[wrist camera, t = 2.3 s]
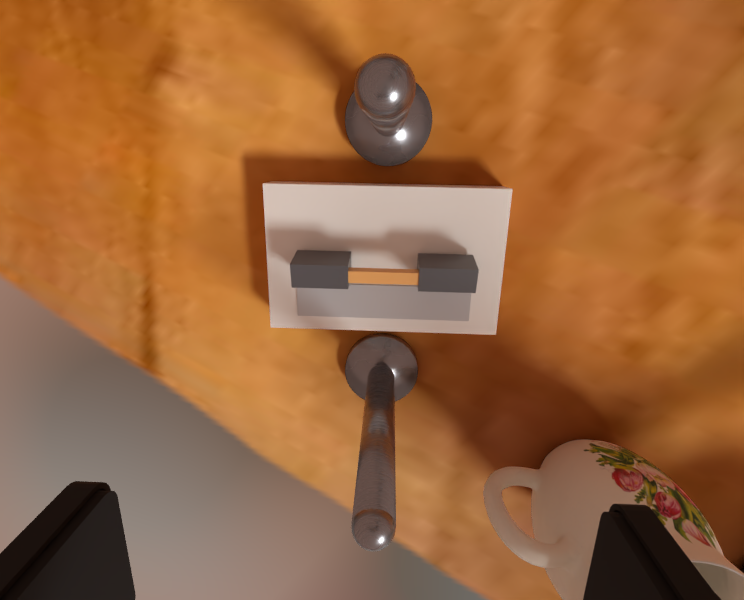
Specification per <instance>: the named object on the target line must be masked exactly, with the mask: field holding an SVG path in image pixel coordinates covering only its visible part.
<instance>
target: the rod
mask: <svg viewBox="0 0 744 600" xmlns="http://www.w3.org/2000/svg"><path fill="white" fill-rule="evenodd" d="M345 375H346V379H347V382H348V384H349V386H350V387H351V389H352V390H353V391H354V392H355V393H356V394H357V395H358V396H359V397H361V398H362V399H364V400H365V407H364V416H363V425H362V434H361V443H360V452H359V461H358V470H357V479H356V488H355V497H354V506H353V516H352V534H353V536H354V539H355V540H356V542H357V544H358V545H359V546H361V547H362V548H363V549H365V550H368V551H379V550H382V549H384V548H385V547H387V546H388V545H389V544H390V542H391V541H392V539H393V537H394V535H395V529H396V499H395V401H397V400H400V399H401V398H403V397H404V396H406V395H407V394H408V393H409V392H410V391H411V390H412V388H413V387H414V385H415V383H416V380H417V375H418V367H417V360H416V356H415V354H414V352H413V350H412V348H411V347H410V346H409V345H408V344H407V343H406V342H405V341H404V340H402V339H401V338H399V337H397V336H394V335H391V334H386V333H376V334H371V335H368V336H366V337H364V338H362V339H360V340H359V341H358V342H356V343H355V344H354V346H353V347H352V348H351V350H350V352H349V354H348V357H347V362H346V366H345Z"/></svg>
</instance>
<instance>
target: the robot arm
mask: <svg viewBox="0 0 744 600" xmlns="http://www.w3.org/2000/svg"><path fill="white" fill-rule="evenodd" d="M0 600H135V590H134V585H133V578H132V573H131V567H130V562H129V557H128V552H127V546H126V540H125V535H124V529H123V524H122V519H121V513H120V508H119V502H118V497H117V494H116V493H115V492H114V491H111V490H110V487H109V485H108V484H107V483H103V482H80V481H76V482H73V483H71V484H69V485H68V486H67V487H66V488H65V489H64V490H63V491H62V492H61V493H60V494H59V495H58V496H57V497H56V498H55V499H54V500H53V501H52V502H51V503H50V504H49V505H48V506H47V507H46V508H45V509H44V510H43V511H42V512H41V513H40V514H39V515H38V516H37V517H36V518H35V519H34V520H33V521H32V522H31V523H30V524H29V525H28V526H27V527H26V528H25V529H24V530H23V531H22V532H21V533H20V534H19V535H18V536H17V537H16V538H15V539H14V540H13V541H12V542H11V543H10V544H9V545H8V546H7V547H6V549H4V551H2V552H1V554H0ZM583 600H721V599H720V597H719V596H718V595H717V594H716V593H715V592H714V591H713V590H712V588H711V587H710V586H709V584H708V583H707V582H706V580H705V579H704V578H703V576H702V575H701V574H700V573H699V571H698V570H697V569H696V567H695V566H694V565H693V563H692V562H691V561H690V559H689V558H688V557H687V555H686V554H685V553H684V551H683V550H682V549H681V547H680V546H679V545H678V543H677V542H676V541H675V539H674V538H673V537H672V535H671V534H670V533H669V531H668V530H667V529H666V527H665V526H664V525H663V523H662V522H661V521H660V520H659V518H658V517H657V516H656V514H655V513H654V512H653V510H652V509H651V508H650V507H648V506H646V505H637V504H613V505H612V506H611V507H610V509H609V512H603V513H602V514H601V517H600V522H599V527H598V531H597V536H596V541H595V545H594V550H593V555H592V559H591V564H590V569H589V573H588V578H587V583H586V587H585V592H584V597H583Z"/></svg>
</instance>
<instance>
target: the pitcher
mask: <svg viewBox="0 0 744 600" xmlns="http://www.w3.org/2000/svg"><path fill="white" fill-rule="evenodd" d="M510 486H525V487H529V488H531V489H532V497H531V516H532V525H533V531H534V536H535V539H533V538H531V537H530V536H529V535H527V534H526V533H525V532H524V531H522V530H521V529H520V528H519V527H518V525H517V524H516V523H515V522H514V520H513V519H512V518H511V516H510V515H509V513H508V511H507V509H506V507H505V505H504V502H503V499H502V490H503V489H505V488H507V487H510ZM483 495H484V503H485V507H486V510H487V514H488V517H489V519H490V521H491V523H492V526H493V528H494V529H495V531H496V532H497V534H498V536H499V537H500V538H501V540H502V541H503V542H504V543H505V545H506V546H507V547H508V548H509V549H510V550H511V551H512V552H513V553H515V554H516V555H517V556H519V557H520V558H521V559H523V560H525V561H526V562H528V563H530V564H532V565H536V566H539V567H544V568H545V570H546V572H547V574H548V577H549V578H550V580H551V582H552V584H553V585H554V587H555V589H556V590H557V592H558V593H559V595H560V596H561V598H562V599H563V600H583V597H584V592H585V587H586V583H587V578H588V573H589V569H590V564H591V559H592V555H593V550H594V545H595V541H596V536H597V531H598V527H599V522H600V517H601V514H602V513H603V512H609V509H610V507H611V506H612V505H613V504H637V505H646V506H648V507H650V508H651V509H652V510H653V512H654V513H655V514H656V516H657V517H658V518H659V520H660V521H661V522H662V523H663V525H664V526H665V527H666V529H667V530H668V531H669V533H670V534H671V535H672V537H673V538H674V539H675V541H676V542H677V543H678V545H679V546H680V547H681V549H682V550H683V551H684V553H685V554H686V555H687V557H688V558H689V559H690V561H691V562H692V563H693V565H694V566H695V567H696V569H697V570H698V571H699V573H700V574H701V575H702V576H703V578H704V579H705V580H706V582H707V583H708V584H709V586H710V587H711V588H712V590H713V591H714V592H715V593H716V594H717V595H718V596H719V597H720V599H721V600H744V573H743V572H741V571H740V570H739V569H738V568H737V567H735V566H734V565H733V564H732V563H731V562H730V561H729V560H727V559H726V558H725V557H724V555H723V552H722V549H721V547H720V545H719V543H718V541H717V539H716V537H715V535H714V532H713V530H712V529H711V527H710V525H709V524H708V522H707V520H706V519H705V517H704V516H703V514H702V513H701V512H700V510H699V509H698V508H697V506H696V505H695V504H694V502H693V501H692V500H691V499H690V498H689V497H688V496H687V494H686V493H685V492H684V491H683V490H682V489H681V488H680V487H679V486H678V485H677V484H676V483H675V482H674V481H673V480H672V479H671V478H669V477H668V476H667V475H666V474H665V473H663V472H662V471H661V470H660V469H658V468H657V467H656V466H654V465H653V464H651V463H650V462H648V461H647V460H645V459H644V458H642V457H640V456H638V455H637V454H635V453H633V452H631V451H629V450H627V449H625V448H623V447H620V446H618V445H615V444H612V443H608V442H605V441H598V440H588V439H581V440H573V441H570V442H566V443H564V444H562V445H560V446H558V447H556V448H555V449H554V450H552V451H551V452H550V453H549V454H548V455H547V456H546V458H545V459H544V461H543V463H542V465H541V467H540V469H532V468H526V467H517V466H510V467H504V468H500V469H498V470H496V471H494V472H493V473H492V474H491V475H490V476H489V478H488V479H487V481H486V483H485V486H484V491H483Z"/></svg>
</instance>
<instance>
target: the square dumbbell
mask: <svg viewBox="0 0 744 600" xmlns="http://www.w3.org/2000/svg"><path fill="white" fill-rule="evenodd" d="M478 273H479V269H478V266H477V264H476V261H475V259H474V256H473V255H465V254H428V253H418V258H417V269H388V268H353V267H351V251H318V250H297V251H296V253H295V255H294V257H293V259H292V261H291V263H290V274H291V286H292V288H322V289H348V288H349V283H368V284H402V285H417V286H418V291H421V292H454V293H476V287H477V280H478Z"/></svg>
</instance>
